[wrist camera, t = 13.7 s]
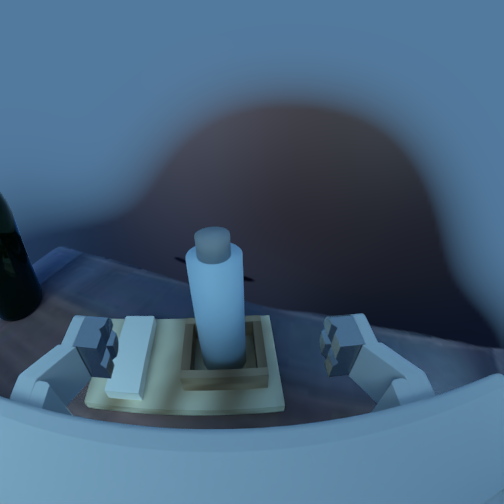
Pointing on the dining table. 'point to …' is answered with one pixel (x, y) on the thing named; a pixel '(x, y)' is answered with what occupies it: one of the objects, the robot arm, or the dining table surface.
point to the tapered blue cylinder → (218, 298)
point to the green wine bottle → (15, 270)
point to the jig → (200, 375)
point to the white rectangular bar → (132, 358)
